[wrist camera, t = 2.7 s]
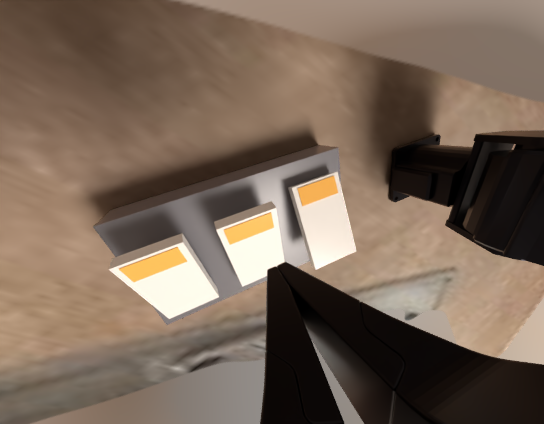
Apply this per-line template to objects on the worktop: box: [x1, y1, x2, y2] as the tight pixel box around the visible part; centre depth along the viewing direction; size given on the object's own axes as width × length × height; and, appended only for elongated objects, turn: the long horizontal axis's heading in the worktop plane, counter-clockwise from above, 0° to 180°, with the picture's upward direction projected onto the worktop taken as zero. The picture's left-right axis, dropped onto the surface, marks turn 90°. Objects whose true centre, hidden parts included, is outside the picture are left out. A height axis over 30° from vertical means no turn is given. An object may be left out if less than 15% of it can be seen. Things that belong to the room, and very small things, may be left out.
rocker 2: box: [288, 172, 356, 270], centre depth 16 cm, size 4×7×1 cm, turn 13°
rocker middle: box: [214, 201, 284, 287], centre depth 15 cm, size 4×7×1 cm, turn 13°
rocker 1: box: [109, 233, 219, 319], centre depth 14 cm, size 4×7×1 cm, turn 13°
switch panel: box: [93, 145, 341, 325], centre depth 17 cm, size 18×10×4 cm, turn 103°
